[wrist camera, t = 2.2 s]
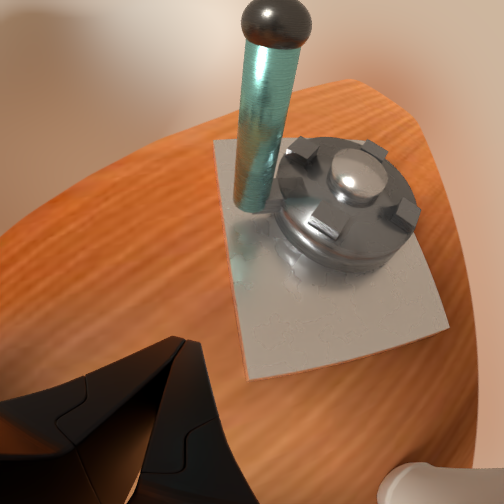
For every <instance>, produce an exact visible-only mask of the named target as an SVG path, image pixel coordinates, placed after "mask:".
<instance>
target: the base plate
mask: <svg viewBox="0 0 504 504" xmlns="http://www.w3.org/2000/svg"><path fill="white" fill-rule="evenodd" d="M297 139H298V138H282V140H281V145H280V150H279V154H278V159H277V164H276V168H275V173H274V178H276V175H277V170H278V166H279V163H280V160H281V158H282V157H283V155H284V154H285V153H286V150H287V148H288V147H289V146H290V145H291V144H292V143H293V142H294V141H295V140H297ZM305 139H311V138H305ZM345 140H346V139H345ZM349 141H353V142H355V143H358V144H361V145H363V144H364V143H365V141H362V140H349ZM236 146H237V139H226V140H213V157H214V165H215V173H216V181H217V189H218V197H219V204H220V212H221V219H222V226H223V234H224V241H225V248H226V255H227V262H228V269H229V275H230V282H231V289H232V295H233V302H234V308H235V315H236V321H237V327H238V334H239V340H240V346H241V352H242V358H243V364H244V370H245V376H246V382H252V381H259V380H265V379H271V378H277V377H282V376H287V375H293V374H298V373H302V372H307V371H312V370H316V369H321V368H325V367H330V366H334V365H338V364H342V363H346V362H350V361H354V360H357V359H361V358H365V357H368V356H372V355H375V354H379V353H382V352H385V351H389V350H392V349H395V348H398V347H401V346H404V345H407V344H410V343H413V342H416V341H419V340H422V339H425V338H428V337H431V336H433V335H436V334H438V333H440V332H442V331H444V330H446V329H448V328H450V326H449V323H448V320H447V317H446V314H445V311H444V308H443V305H442V302H441V299H440V296H439V293H438V291H437V288H436V285H435V282H434V280H433V277H432V275H431V272H430V269H429V267H428V264H427V262H426V260H425V257H424V255H423V252H422V250H421V248H420V245H419V243H418V241H417V239H416V236H415V234H414V232H413V234H412V235H411V237H410V238H409V239H408V240H407V241H406V243H405V244H404V245H403V246H402V247H401V248H400V249H399V250H398V251H397V252H396V254H395V255H394V256H393V257H392V258H391V259H390V260H389V261H388V262H386V263H385V264H383V265H382V266H380V267H378V268H376V269H373V270H370V271H365V272H343V271H338V270H334V269H331V268H328V267H325V266H323V265H320V264H318V263H316V262H314V261H313V260H311V259H309V258H307V257H306V256H305V255H303V254H302V253H301V252H299V251H298V250H297V249H296V248H295V247H294V246H293V245H292V244H291V243H290V242H289V241H288V240H287V239H286V237H285V236H284V234H283V233H282V232H281V230H280V228H279V226H278V224H277V222H276V220H275V217H274V214H273V213H267V214H253V215H252V213H247V212H244V211H242V210H240V209H238V208H237V207H236V206H235V204H234V202H233V188H234V173H235V160H236Z"/></svg>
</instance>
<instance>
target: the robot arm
mask: <svg viewBox="0 0 504 504" xmlns="http://www.w3.org/2000/svg"><path fill="white" fill-rule="evenodd" d="M141 467H142V468H141ZM140 469H141V472H140V476H139V479H138V483H137V486H136V488H135V491H134V493H133V495H132V496H131V498H130V499H129V501H128V502H127V504H260V503H259V502H258V500H257V499H256V497H255V495H254V493H253V492H252V490H251V488H250V486H249V485H248V483H247V481H246V479H245V477H244V475H243V474H242V472H241V470H240V468H239V466H238V464H237V462H236V460H235V458H234V456H233V454H232V452H231V450H230V447H229V445H228V443H227V440H226V437H225V434H224V431H223V428H222V424H221V421H220V419H219V414H218V411H217V407H216V403H215V399H214V396H213V392H212V388H211V384H210V380H209V376H208V372H207V368H206V364H205V359H204V355H203V351H202V346H201V343H200V342H196V341H192V340H185V339H184V338H180V337H176V336H170V337H168V338H166V339H164V340H162V341H160V342H157V343H155V344H153V345H151V346H149V347H147V348H144V349H142V350H140V351H138V352H136V353H133V354H131V355H129V356H127V357H125V358H122V359H120V360H118V361H116V362H113V363H111V364H109V365H107V366H104V367H102V368H100V369H98V370H95V371H93V372H91V373H88V374H86V375H85V376H81V377H79V378H76V379H74V380H71V381H69V382H66V383H64V384H61V385H58V386H55V387H52V388H49V389H46V390H43V391H39V392H36V393H32V394H28V395H25V396H21V397H17V398H13V399H9V400H5V401H1V402H0V504H124V502H125V500H126V498H127V496H128V494H129V492H130V490H131V488H132V486H133V484H134V482H135V480H136V478H137V475H138V473H139V471H140Z"/></svg>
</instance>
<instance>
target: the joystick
mask: <svg viewBox="0 0 504 504" xmlns="http://www.w3.org/2000/svg"><path fill="white" fill-rule="evenodd" d="M241 27H242V31H243V34H244V36H245V38H246V44H245V54H244V64H243V76H242V86H241V98H240V109H239V121H238V134H237V146H236V160H235V173H234V188H233V202H234V204H235V206H236V207H237V208H238V209H240V210H242V211H244V212H247V213H252V215H253V214H267V213H273V214H274V217H275V220H276V222H277V224H278V226H279V228H280V230H281V232H282V233H283V234H284V236H285V237H286V239H287V240H288V241H289V242H290V243H291V244H292V245H293V246H294V247H295V248H296V249H297V250H298V251H299V252H301V253H302V254H303V255H305V256H306V257H307V258H309V259H311V260H313V261H314V262H316V263H318V264H320V265H323V266H325V267H328V268H331V269H334V270H338V271H343V272H365V271H370V270H373V269H376V268H378V267H380V266H382V265H383V264H385V263H386V262H388V261H389V260H390V259H391V258H392V257H393V256H394V255H395V254H396V252H397V251H398V250H399V249H400V248H401V247H402V246H403V245H404V244H405V243H406V241H407V240H408V239H409V238H410V237H411V235H412V234H413V232H414V230H415V227H416V224H417V221H418V218H419V215H420V212H421V209H420V208H419V207H417V205H416V201H415V198H414V195H413V192H412V190H411V188H410V186H409V185H408V183H407V181H406V180H405V178H404V177H403V176H402V175H401V173H400V172H399V171H398V170H397V169H396V168H395V167H394V166H393V165H392V164H391V163H390V162H389V161H387V160H386V159H385V157H386V155H387V153H388V151H387V150H385V149H383V148H382V147H380V146H378V145H377V144H375V143H373V142H372V141H370V140H368V139H367V140H366V142H365V143H364V144H363V145H361V144H358V143H355V142H353V141H349V140H345V139H340V138H333V137H317V138H311V139H305V138H304V137H302V136H300V137H299V138H298V139H297V140H295V141H294V142H293V143H292V144H291V145H290V146H289V147H288V148H287V150H286V153H285V154H284V155H283V157H282V158H281V160H280V163H279V166H278V170H277V175H276V178H274V173H275V168H276V164H277V159H278V154H279V150H280V145H281V140H282V136H283V131H284V126H285V121H286V117H287V112H288V107H289V103H290V98H291V93H292V88H293V83H294V79H295V74H296V69H297V64H298V60H299V55H300V50H301V46H302V45H303V44H304V43H305V42H306V41H307V39H308V38H309V36H310V33H311V29H312V21H311V17H310V14H309V12H308V10H307V9H306V7H305V6H304V5H303V4H302V3H301V2H300V1H298V0H253V1H252V2H251V3H250V4H249V5H248V6H247V7H246V8H245V10H244V12H243V15H242V19H241Z"/></svg>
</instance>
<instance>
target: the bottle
mask: <svg viewBox="0 0 504 504" xmlns="http://www.w3.org/2000/svg"><path fill="white" fill-rule="evenodd" d="M377 503H378V504H504V468H492V469H465V468H444V467H434V466H432V465H430V464H428V463H426V462H414V463H405V464H403V465H401V466H399V467H396V468H394V469H393V470H392V471H391V472H390V473H389V474H388V475H386V477H385V478H384V480H383V481H382V483H381V484H380V486H379V490H378V493H377Z"/></svg>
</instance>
